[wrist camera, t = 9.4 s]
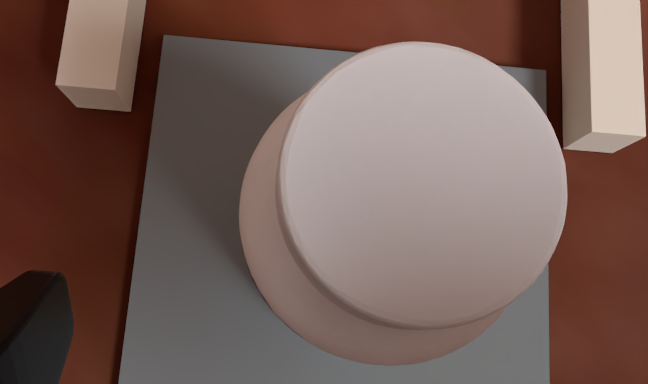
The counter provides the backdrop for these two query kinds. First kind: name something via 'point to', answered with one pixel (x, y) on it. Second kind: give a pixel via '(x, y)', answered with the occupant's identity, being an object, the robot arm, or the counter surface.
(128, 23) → the white u-shaped bracket
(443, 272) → the supplement bottle
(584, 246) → the counter surface
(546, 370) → the mat
